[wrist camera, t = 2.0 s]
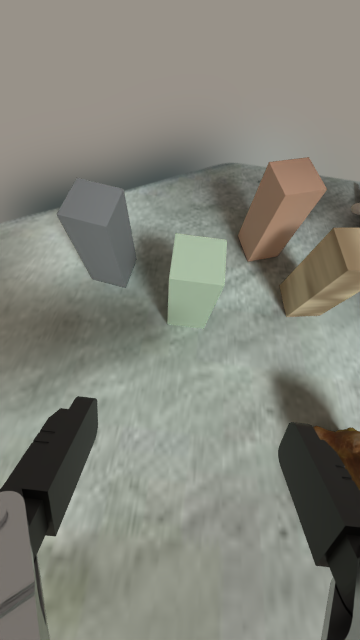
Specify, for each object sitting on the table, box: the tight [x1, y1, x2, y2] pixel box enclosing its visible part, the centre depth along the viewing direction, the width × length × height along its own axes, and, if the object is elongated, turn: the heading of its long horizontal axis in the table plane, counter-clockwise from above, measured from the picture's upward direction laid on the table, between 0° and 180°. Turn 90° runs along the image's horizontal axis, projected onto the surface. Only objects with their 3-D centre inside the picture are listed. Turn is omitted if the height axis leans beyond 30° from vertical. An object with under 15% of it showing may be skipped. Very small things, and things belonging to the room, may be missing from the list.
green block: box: [167, 233, 227, 329], centre depth 23 cm, size 4×4×10 cm
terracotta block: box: [238, 157, 327, 262], centre depth 26 cm, size 4×4×10 cm
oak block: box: [280, 228, 360, 317], centre depth 24 cm, size 4×4×10 cm
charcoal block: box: [57, 178, 137, 288], centre depth 24 cm, size 4×4×10 cm
